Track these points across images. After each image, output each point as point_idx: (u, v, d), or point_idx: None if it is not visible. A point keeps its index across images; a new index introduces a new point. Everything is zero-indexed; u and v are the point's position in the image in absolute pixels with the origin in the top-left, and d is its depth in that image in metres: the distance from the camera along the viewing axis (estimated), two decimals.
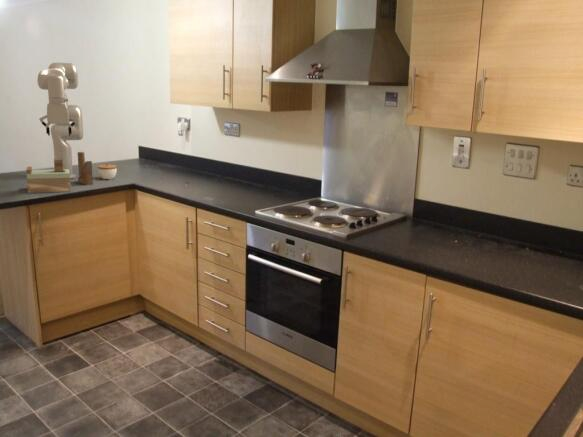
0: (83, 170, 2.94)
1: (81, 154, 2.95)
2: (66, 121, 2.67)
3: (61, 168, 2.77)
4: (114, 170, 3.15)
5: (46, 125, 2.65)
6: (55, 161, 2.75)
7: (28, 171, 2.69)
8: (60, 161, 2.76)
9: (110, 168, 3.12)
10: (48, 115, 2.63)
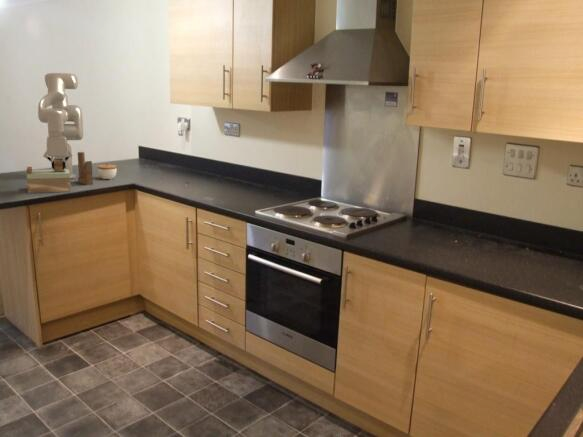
0: (83, 170, 2.94)
1: (81, 154, 2.95)
2: (65, 154, 2.76)
3: (61, 168, 2.77)
4: (114, 170, 3.15)
5: (51, 160, 2.75)
6: (55, 161, 2.75)
7: (28, 171, 2.69)
8: (60, 161, 2.76)
9: (110, 168, 3.12)
10: (48, 148, 2.72)
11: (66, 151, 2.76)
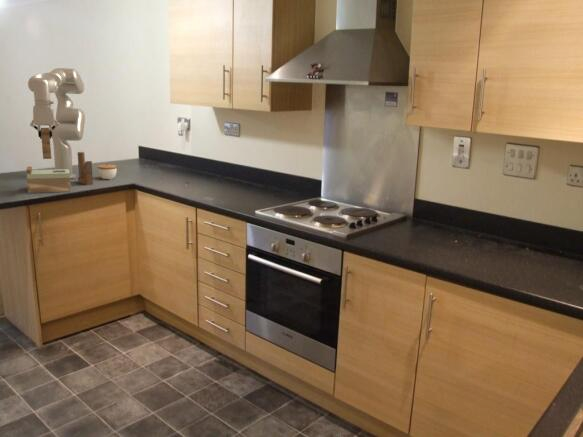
0: (83, 170, 2.94)
1: (81, 154, 2.95)
2: (52, 123, 2.79)
3: (48, 137, 2.80)
4: (114, 170, 3.15)
5: (38, 129, 2.78)
6: (42, 130, 2.78)
7: (28, 171, 2.69)
8: (47, 130, 2.79)
9: (110, 168, 3.12)
10: (34, 117, 2.75)
11: (53, 120, 2.79)
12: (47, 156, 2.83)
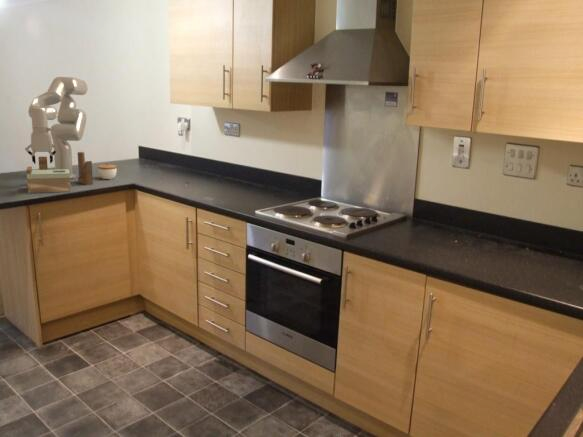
0: (83, 170, 2.94)
1: (81, 154, 2.95)
2: (49, 149, 2.85)
3: (45, 166, 2.87)
4: (114, 170, 3.15)
5: (32, 154, 2.83)
6: (39, 159, 2.85)
7: (28, 171, 2.69)
8: (44, 159, 2.86)
9: (110, 168, 3.12)
10: (32, 144, 2.81)
11: (50, 147, 2.85)
12: None
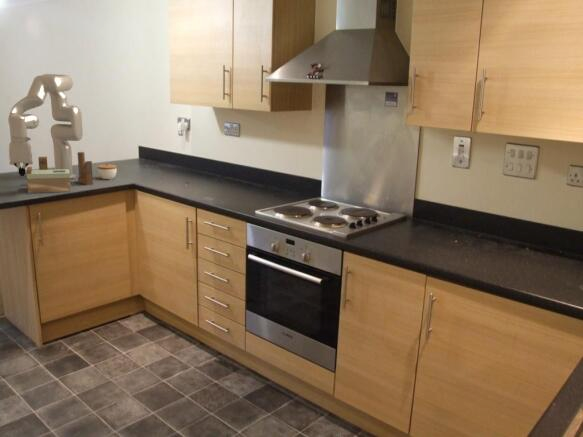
0: (83, 170, 2.94)
1: (81, 154, 2.95)
2: (28, 160, 2.70)
3: (45, 166, 2.87)
4: (114, 170, 3.15)
5: (18, 166, 2.70)
6: (39, 159, 2.85)
7: (28, 171, 2.69)
8: (44, 159, 2.86)
9: (110, 168, 3.12)
10: (10, 154, 2.66)
11: (29, 157, 2.70)
12: None
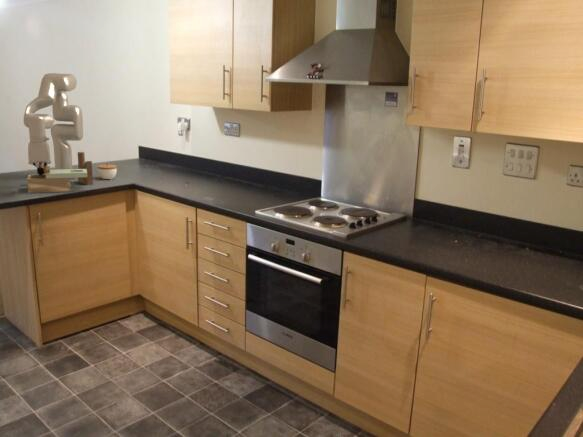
0: None
1: (81, 154, 2.95)
2: (47, 159, 2.73)
3: (45, 166, 2.87)
4: (114, 170, 3.15)
5: (36, 166, 2.73)
6: None
7: (47, 171, 2.72)
8: None
9: (110, 168, 3.12)
10: (29, 154, 2.70)
11: (48, 157, 2.73)
12: None
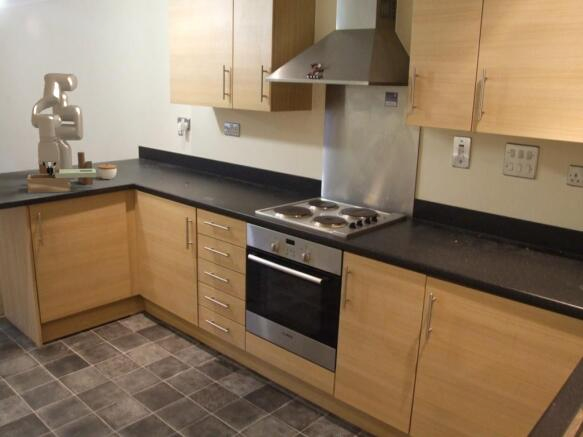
0: None
1: (81, 154, 2.95)
2: (56, 159, 2.75)
3: None
4: (114, 170, 3.15)
5: (46, 166, 2.75)
6: None
7: (56, 170, 2.74)
8: None
9: (110, 168, 3.12)
10: (39, 154, 2.71)
11: (57, 157, 2.75)
12: None
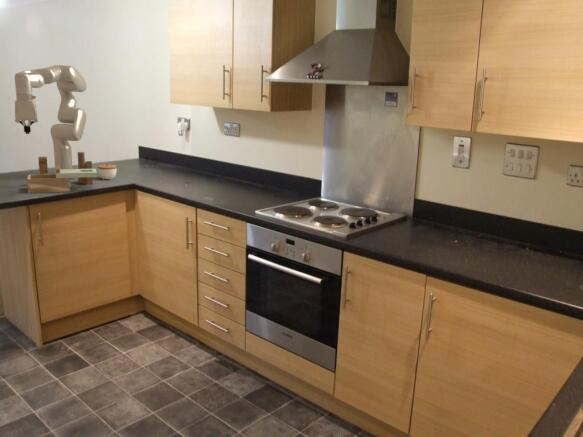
0: None
1: (81, 154, 2.95)
2: (34, 118, 2.75)
3: (45, 166, 2.87)
4: (114, 170, 3.15)
5: (23, 124, 2.75)
6: (39, 159, 2.85)
7: (57, 170, 2.74)
8: (44, 159, 2.86)
9: (110, 168, 3.12)
10: (16, 112, 2.71)
11: (34, 115, 2.75)
12: None
